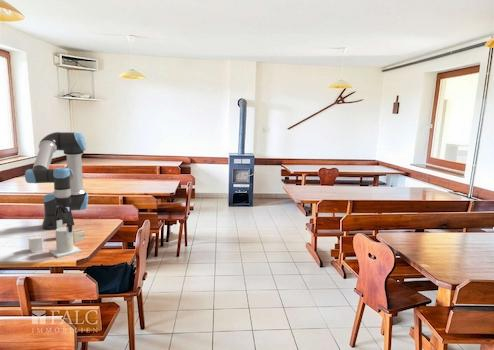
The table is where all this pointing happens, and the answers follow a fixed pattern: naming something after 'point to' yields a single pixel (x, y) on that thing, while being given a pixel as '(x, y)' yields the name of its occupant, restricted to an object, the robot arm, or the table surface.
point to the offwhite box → (35, 244)
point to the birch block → (78, 235)
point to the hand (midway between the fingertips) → (64, 234)
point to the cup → (63, 241)
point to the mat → (58, 255)
